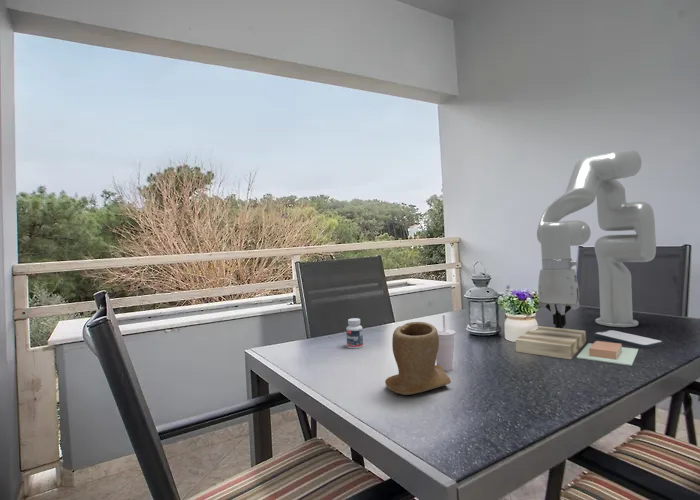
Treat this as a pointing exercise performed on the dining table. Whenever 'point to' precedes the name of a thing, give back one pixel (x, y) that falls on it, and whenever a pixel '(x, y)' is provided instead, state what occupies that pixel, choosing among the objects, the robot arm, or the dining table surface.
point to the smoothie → (445, 347)
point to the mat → (624, 358)
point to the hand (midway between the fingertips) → (559, 327)
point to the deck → (551, 342)
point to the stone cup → (416, 359)
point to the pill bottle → (354, 334)
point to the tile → (605, 350)
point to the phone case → (628, 339)
